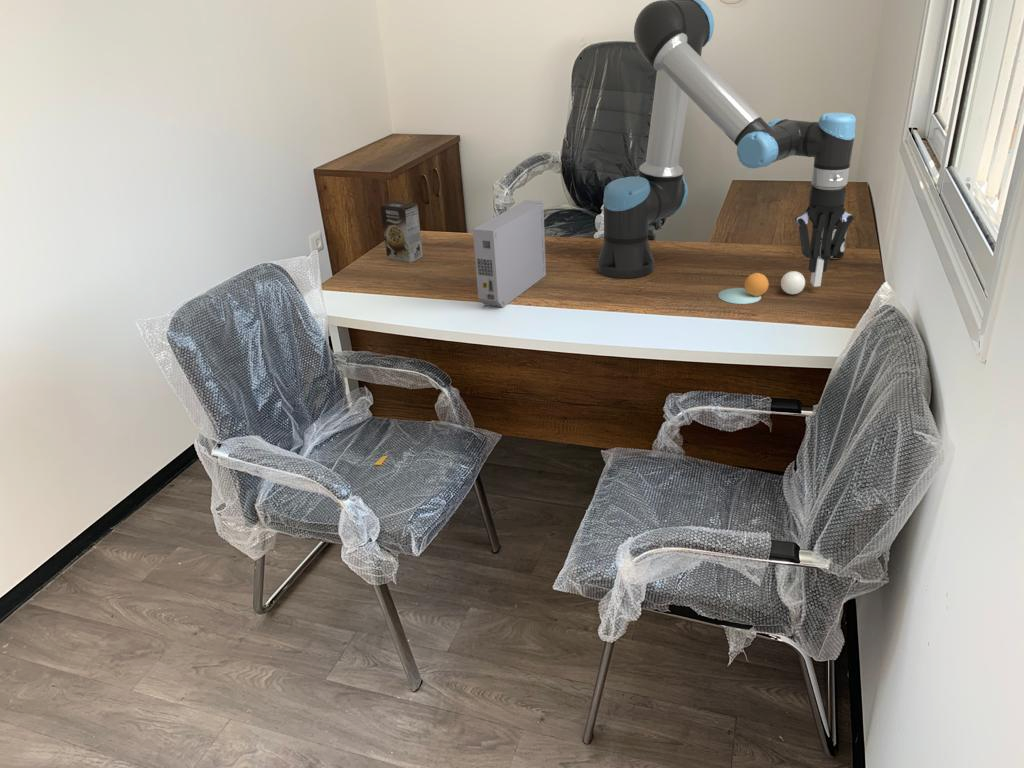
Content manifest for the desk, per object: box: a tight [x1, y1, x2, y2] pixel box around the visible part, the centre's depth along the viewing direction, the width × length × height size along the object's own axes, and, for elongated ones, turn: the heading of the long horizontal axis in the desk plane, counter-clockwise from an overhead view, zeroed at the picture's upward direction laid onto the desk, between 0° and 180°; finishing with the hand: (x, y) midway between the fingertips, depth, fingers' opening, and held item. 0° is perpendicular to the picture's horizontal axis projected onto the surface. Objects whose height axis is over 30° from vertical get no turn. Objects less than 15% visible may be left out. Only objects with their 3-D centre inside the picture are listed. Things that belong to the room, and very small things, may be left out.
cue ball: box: [780, 270, 806, 295], centre depth 182 cm, size 6×6×6 cm
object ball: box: [744, 272, 770, 296], centre depth 182 cm, size 6×6×6 cm
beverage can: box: [818, 211, 849, 259], centre depth 201 cm, size 7×7×12 cm
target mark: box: [717, 287, 762, 305], centre depth 183 cm, size 10×10×1 cm
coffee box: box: [379, 200, 424, 264], centre depth 220 cm, size 9×6×16 cm
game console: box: [472, 199, 547, 308], centre depth 191 cm, size 6×27×20 cm, turn 152°
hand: (815, 284), depth 182 cm, fingers closed
